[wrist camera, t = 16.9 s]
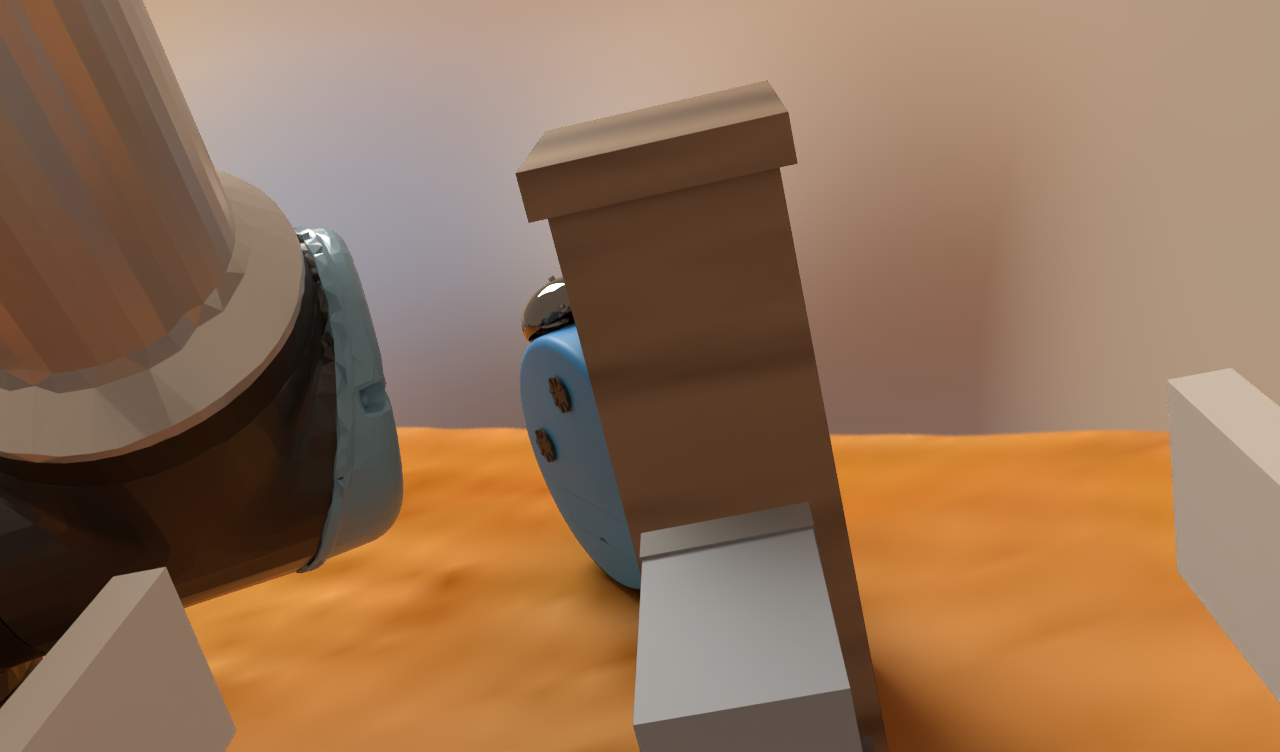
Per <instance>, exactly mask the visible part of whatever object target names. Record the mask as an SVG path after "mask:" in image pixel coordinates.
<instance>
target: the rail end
mask: <svg viewBox="0 0 1280 752" xmlns="http://www.w3.org/2000/svg"><path fill="white" fill-rule="evenodd" d="M640 561H641V565H642V575H641V592H640V610H639V628H638V646H637V664H636V682H635V699H634V717H633V727H634V730H635V734H636V738H637V741H638V745H639V748H640V752H862V746H861V741H860V736H859V731H858V726H857V721H856V716H855V711H854V706H853V700H852V695H851V690H850V686H849V681H848V677H847V673H846V669H845V664H844V660H843V656H842V651H841V647H840V643H839V639H838V634H837V630H836V626H835V622H834V617H833V613H832V609H831V604H830V600H829V596H828V592H827V587H826V583H825V578H824V573H823V568H822V563H821V558H820V553H819V548H818V543H817V537H816V532H815V527H814V523H813V518H812V514H811V510H810V506H809V502H804V503H799V504H794V505H789V506H783V507H778V508H773V509H767V510H762V511H757V512H751V513H746V514H741V515H736V516H730V517H725V518H720V519H714V520H709V521H704V522H698V523H693V524H688V525H683V526H677V527H672V528H667V529H661V530H656V531H651V532H646V533H641V542H640Z"/></svg>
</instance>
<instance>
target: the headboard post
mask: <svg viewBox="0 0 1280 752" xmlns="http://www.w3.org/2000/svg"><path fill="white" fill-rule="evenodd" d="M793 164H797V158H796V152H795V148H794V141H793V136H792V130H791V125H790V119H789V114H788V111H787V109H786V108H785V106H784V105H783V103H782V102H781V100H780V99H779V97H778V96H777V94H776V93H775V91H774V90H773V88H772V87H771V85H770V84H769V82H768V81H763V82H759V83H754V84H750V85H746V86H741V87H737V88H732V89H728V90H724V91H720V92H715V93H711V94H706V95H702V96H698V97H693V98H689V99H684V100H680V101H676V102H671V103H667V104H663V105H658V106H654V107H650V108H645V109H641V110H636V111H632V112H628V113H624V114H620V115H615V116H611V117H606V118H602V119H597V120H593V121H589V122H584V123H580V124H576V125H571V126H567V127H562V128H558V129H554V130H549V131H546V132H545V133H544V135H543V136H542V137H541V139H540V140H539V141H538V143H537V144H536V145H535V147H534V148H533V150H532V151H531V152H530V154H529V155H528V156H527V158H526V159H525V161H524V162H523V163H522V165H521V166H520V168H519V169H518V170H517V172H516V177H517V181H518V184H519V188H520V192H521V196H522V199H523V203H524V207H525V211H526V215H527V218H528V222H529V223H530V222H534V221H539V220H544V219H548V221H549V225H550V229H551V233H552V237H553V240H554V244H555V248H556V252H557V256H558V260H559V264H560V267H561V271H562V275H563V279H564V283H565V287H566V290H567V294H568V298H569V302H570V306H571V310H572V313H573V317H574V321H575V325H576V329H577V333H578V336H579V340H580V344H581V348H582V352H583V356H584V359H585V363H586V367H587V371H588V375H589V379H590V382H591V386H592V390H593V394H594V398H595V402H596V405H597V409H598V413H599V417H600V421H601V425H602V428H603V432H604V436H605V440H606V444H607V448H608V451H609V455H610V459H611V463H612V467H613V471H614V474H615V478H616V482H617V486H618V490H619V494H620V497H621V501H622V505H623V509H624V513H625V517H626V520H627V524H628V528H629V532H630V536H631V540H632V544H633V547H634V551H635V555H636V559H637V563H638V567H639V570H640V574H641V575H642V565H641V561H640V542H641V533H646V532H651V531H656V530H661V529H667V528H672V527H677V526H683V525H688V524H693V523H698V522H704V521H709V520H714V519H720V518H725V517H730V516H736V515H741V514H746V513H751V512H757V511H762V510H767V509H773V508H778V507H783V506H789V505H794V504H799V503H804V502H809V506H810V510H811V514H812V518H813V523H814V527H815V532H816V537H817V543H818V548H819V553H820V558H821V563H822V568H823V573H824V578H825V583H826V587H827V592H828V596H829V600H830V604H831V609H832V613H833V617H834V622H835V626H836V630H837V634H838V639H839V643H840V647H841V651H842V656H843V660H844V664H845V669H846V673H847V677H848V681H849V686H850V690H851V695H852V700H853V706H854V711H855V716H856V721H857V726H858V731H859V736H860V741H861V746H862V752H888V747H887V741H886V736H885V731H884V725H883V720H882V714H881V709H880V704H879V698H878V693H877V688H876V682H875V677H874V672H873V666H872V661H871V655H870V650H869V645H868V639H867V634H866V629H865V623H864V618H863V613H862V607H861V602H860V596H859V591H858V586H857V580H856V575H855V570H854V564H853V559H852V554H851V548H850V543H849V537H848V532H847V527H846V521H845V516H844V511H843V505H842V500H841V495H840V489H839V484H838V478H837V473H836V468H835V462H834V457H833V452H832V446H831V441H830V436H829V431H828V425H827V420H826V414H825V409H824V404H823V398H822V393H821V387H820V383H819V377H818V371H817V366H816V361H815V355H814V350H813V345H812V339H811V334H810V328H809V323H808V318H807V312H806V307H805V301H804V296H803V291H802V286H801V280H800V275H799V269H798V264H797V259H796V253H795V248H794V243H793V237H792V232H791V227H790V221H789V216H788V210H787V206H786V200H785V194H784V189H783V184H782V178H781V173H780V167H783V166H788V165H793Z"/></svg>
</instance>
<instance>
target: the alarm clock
mask: <svg viewBox="0 0 1280 752" xmlns="http://www.w3.org/2000/svg"><path fill="white" fill-rule="evenodd" d="M549 281H550V282H549V283H547V284H545V285H544V286H542V287H541V288H540V289H538V290H537V291H536V292H535V293H534V294H533V295H532V296H531V298H530V299H529V301H528V302H527V304H526V306H525V308H524V311H523V314H522V319H521V321H522V330H523V333H524V336H525V338H526V341H527V342H532V343H531V344H530V345H529V346H528V348H527V350H526V351H525V353H524V356H523V359H522V363H521V371H520V393H521V402H522V408H523V414H524V418H525V423H526V427H527V431H528V435H529V438H530V441H531V445H532V448H533V451H534V454H535V457H536V459H537V462H538V465H539V467H540V470H541V472H542V475H543V477H544V479H545V482H546V484H547V486H548V488H549V491H550V493H551V495H552V497H553V499H554V501H555V503H556V505H557V507H558V508H559V510H560V512H561V514H562V516H563V517H564V519H565V521H566V523H567V524H568V526H569V527H570V529H571V531H572V532H573V534H574V535H575V537H576V538H577V540H578V541H579V542H580V544H581V545H582V547H583V548H584V549H585V551H586V552H587V553H588V554H589V556H590V557H591V558H592V559H593V560H594V561H595V562H596V564H597V565H598V566H599V567H600V568H601V569H602V570H603V571H605V572H606V573H607V574H608V575H609V576H611V577H612V578H613V579H614V580H616V581H617V582H619V583H621V584H622V585H624V586H626V587H629V588H633V589H640V590H641V574H640V570H639V567H638V563H637V559H636V555H635V551H634V547H633V544H632V540H631V536H630V532H629V528H628V524H627V520H626V517H625V513H624V509H623V505H622V501H621V497H620V494H619V490H618V486H617V482H616V478H615V474H614V471H613V467H612V463H611V459H610V455H609V451H608V448H607V444H606V440H605V436H604V432H603V428H602V425H601V421H600V417H599V413H598V409H597V405H596V402H595V398H594V394H593V390H592V386H591V382H590V379H589V375H588V371H587V367H586V363H585V359H584V356H583V352H582V348H581V344H580V340H579V336H578V333H577V329H576V325H575V321H574V317H573V313H572V310H571V306H570V302H569V298H568V294H567V290H566V287H565V283H564V279H563V277H560V278H557V279H555V277H554V276H551V277H549Z"/></svg>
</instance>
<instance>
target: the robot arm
mask: <svg viewBox="0 0 1280 752" xmlns="http://www.w3.org/2000/svg"><path fill="white" fill-rule="evenodd" d="M385 386H386V382H385V378H384V374H383V367H382V359H381V354H380V350H379V346H378V342H377V338H376V334H375V331H374V326H373V323H372V319H371V315H370V312H369V308H368V305H367V301H366V298H365V294H364V291H363V288H362V285H361V282H360V279H359V276H358V273H357V270H356V267H355V264H354V262H353V259H352V256H351V254H350V252H349V250H348V248H347V245H346V244H345V242H344V240H343V239H342V238H341V237H340V236H339V235H338V234H336V233H335V232H334V231H331V230H329V229H326V228H317V229H307V228H304V227H299V228H293V227H292V225H291V224H290V222H289V221H288V219H287V218H286V216H285V215H284V213H283V212H282V211H281V210H280V208H279V207H278V206H277V204H276V203H275V202H274V201H273V200H272V199H271V198H269V197H268V196H267V195H266V194H265V193H263V192H262V191H261V190H260V189H258V188H256V187H255V186H253V185H251V184H250V183H248V182H246V181H244V180H242V179H240V178H238V177H235V176H233V175H231V174H228V173H226V172H223V171H219V170H216V169H215V168H214V166H213V164H212V161H211V159H210V156H209V154H208V152H207V150H206V147H205V145H204V142H203V140H202V138H201V135H200V133H199V131H198V128H197V126H196V124H195V121H194V119H193V117H192V115H191V112H190V110H189V108H188V105H187V103H186V101H185V98H184V96H183V94H182V92H181V89H180V87H179V84H178V82H177V80H176V77H175V75H174V73H173V70H172V68H171V66H170V64H169V61H168V59H167V56H166V54H165V52H164V49H163V47H162V45H161V42H160V40H159V38H158V35H157V33H156V31H155V29H154V26H153V24H152V21H151V19H150V17H149V14H148V12H147V10H146V7H145V6H144V3H143V0H0V752H225V751H226V749H227V747H228V745H229V743H230V741H231V740H232V738H233V736H234V734H235V732H236V728H235V726H234V724H233V721H232V719H231V717H230V714H229V712H228V710H227V707H226V705H225V703H224V700H223V698H222V696H221V694H220V691H219V689H218V687H217V684H216V682H215V680H214V677H213V675H212V673H211V670H210V668H209V666H208V663H207V661H206V659H205V656H204V654H203V652H202V649H201V647H200V645H199V642H198V640H197V638H196V635H195V633H194V631H193V629H192V626H191V624H190V622H189V619H188V617H187V615H186V612H185V610H184V608H186V607H189V606H192V605H195V604H198V603H201V602H204V601H207V600H210V599H213V598H216V597H219V596H222V595H226V594H229V593H232V592H235V591H238V590H241V589H244V588H247V587H250V586H253V585H256V584H260V583H263V582H266V581H269V580H272V579H275V578H278V577H281V576H284V575H287V574H290V573H294V572H297V573H304V572H308V571H312V570H314V569H317V568H318V567H320V566H321V565H322V564H323V563H324V562H325V561H326V559H329V558H331V557H334V556H336V555H339V554H341V553H344V552H346V551H349V550H351V549H354V548H356V547H359V546H361V545H364V544H366V543H369V542H371V541H373V540H376V539H378V538H379V537H380V536H382V535H383V534H384V533H386V532H387V531H388V530H389V529H390V528H391V526H392V525H393V524H394V522H395V520H396V519H397V517H398V515H399V512H400V509H401V505H402V500H403V473H402V463H401V456H400V449H399V443H398V436H397V430H396V425H395V421H394V416H393V411H392V406H391V403H390V400H389V397H388V395H387V393H386V392H385ZM1167 395H1168V413H1169V430H1170V448H1171V465H1172V483H1173V500H1174V518H1175V535H1176V553H1177V570H1178V572H1179V574H1180V575H1181V576H1182V578H1183V579H1184V580H1185V581H1186V583H1187V584H1188V585H1189V587H1190V588H1191V589H1192V590H1193V592H1194V593H1195V594H1196V596H1197V597H1198V598H1199V600H1200V601H1201V602H1202V603H1203V605H1204V606H1205V607H1206V609H1207V610H1208V611H1209V612H1210V614H1211V615H1212V616H1213V618H1214V619H1215V620H1216V621H1217V623H1218V624H1219V625H1220V627H1221V628H1222V629H1223V630H1224V632H1225V633H1226V634H1227V636H1228V637H1229V638H1230V640H1231V641H1232V642H1233V643H1234V645H1235V646H1236V647H1237V649H1238V650H1239V651H1240V652H1241V654H1242V655H1243V656H1244V658H1245V659H1246V660H1247V661H1248V663H1249V664H1250V665H1251V667H1252V668H1253V669H1254V671H1255V672H1256V673H1257V674H1258V676H1259V677H1260V678H1261V680H1262V681H1263V682H1264V683H1265V685H1266V686H1267V687H1268V689H1269V690H1270V691H1271V692H1272V694H1273V695H1274V696H1275V698H1276V699H1277V700H1278V701H1279V703H1280V407H1279V406H1278V405H1277V404H1275V403H1274V402H1273V401H1272V400H1270V399H1269V398H1268V397H1267V396H1265V395H1264V394H1263V393H1262V392H1260V391H1259V390H1258V389H1257V388H1255V387H1254V386H1253V385H1252V384H1251V383H1249V382H1248V381H1247V380H1246V379H1244V378H1243V377H1242V376H1241V375H1239V374H1238V373H1237V372H1235V371H1234V370H1233V369H1232V368H1229V369H1223V370H1218V371H1213V372H1207V373H1202V374H1197V375H1191V376H1186V377H1180V378H1175V379H1170V380H1167ZM43 656H45V657H44V658H43Z"/></svg>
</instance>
